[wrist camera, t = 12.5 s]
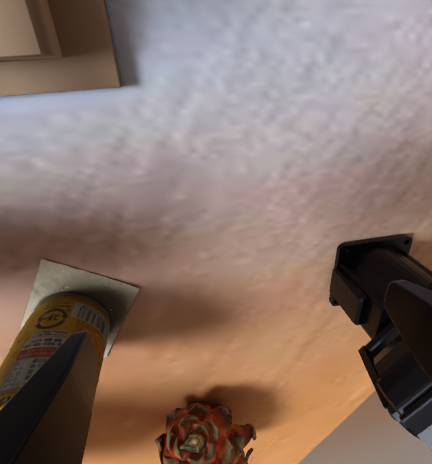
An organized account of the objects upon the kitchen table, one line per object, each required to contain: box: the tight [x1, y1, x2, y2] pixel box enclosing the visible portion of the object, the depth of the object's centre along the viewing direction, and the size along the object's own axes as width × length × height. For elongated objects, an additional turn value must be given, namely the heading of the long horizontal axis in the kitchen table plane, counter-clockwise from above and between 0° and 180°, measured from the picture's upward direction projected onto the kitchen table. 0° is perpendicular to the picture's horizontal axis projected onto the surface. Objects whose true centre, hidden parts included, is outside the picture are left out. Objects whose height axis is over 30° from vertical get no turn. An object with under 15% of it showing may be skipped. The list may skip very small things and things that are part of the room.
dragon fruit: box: [155, 402, 256, 464], centre depth 30 cm, size 8×8×12 cm
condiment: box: [0, 259, 139, 410], centre depth 18 cm, size 7×8×12 cm
